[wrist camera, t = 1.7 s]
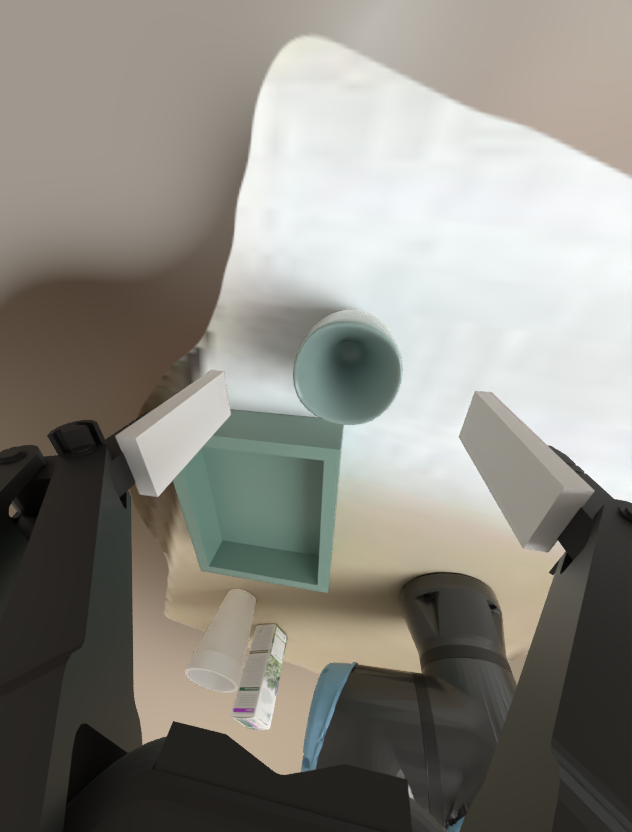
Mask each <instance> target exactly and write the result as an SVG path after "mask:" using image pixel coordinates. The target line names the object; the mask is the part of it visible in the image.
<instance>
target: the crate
mask: <svg viewBox="0 0 632 832" xmlns="http://www.w3.org/2000/svg"><path fill="white" fill-rule="evenodd" d="M230 412H231V415H230V416H229V417H228V419H227V420H226V421H225V422H224V423H223V424H222V425H221V426H220V428H219V429H218V430H217V431H216V432H215V433H214V434H213V435H212V437H211V438H210V439H209V440H208V441H207V442H206V443H205V445H204V446H203V447H202V448H201V449H200V450H199V451H198V452H197V454H196V455H195V456H194V457H193V458H192V459H191V460H190V461H189V463H188V464H187V465H186V466H185V467H184V468H183V469H182V470H181V472H180V473H179V474H178V475H177V476H176V477H175V478H174V479H173V483H174V486H175V489H176V492H177V495H178V499H179V502H180V505H181V508H182V511H183V515H184V518H185V521H186V524H187V527H188V531H189V534H190V537H191V540H192V543H193V546H194V550H195V553H196V556H197V559H198V562H199V566H200V569H201V571H205V572H211V573H217V574H222V575H228V576H234V577H239V578H245V579H251V580H256V581H262V582H268V583H273V584H279V585H285V586H290V587H296V588H302V589H307V590H313V591H319V592H324V593H328V588H329V579H330V569H331V560H332V549H333V538H334V527H335V516H336V504H337V493H338V482H339V471H340V460H341V448H342V437H343V426H344V425H342V424H337V423H332V422H329V421H326V420H323V419H322V418H313V417H303V416H292V415H282V414H272V413H261V412H251V411H241V410H230Z"/></svg>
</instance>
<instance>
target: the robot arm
mask: <svg viewBox="0 0 632 832" xmlns="http://www.w3.org/2000/svg"><path fill="white" fill-rule="evenodd" d="M230 415H231V412H230V405H229V399H228V393H227V386H226V380H225V373H224V371H213V370H211V371H209V372H208V373H207V374H205V375H204V376H202V377H201V378H199V379H198V380H196V381H195V382H193V383H192V384H190V385H189V386H188V387H186V388H185V389H183V390H182V391H180V392H179V393H177V394H176V395H174V396H173V397H171V398H170V399H168V400H167V401H166V402H164V403H163V404H161V405H160V406H158V407H157V408H155V409H153V410H151V411H149V412H146V413H144V414H143V415H141V416H140V417H138V418H137V419H136V420H134V421H132V422H131V423H129V425H126V426H125V427H123V428H122V429H121V430H119V431H117V432H116V433H115V434H113V435H111V436H110V437H109V438H107V439H106V440H105V439H104V437H103V434H102V432H101V430H100V428H99V426H98V423H97V422H96V421H93V420H81V421H75V422H72V423H68V424H65V425H62V426H60V427H57V428H56V429H54V430H52V431H51V432H50V433H49V434H48V438H49V439H50V441H51V443H52V445H53V446H54V448H55V450H56V452H57V453H58V455H57V456H45V457H44V456H43V455H42V453H41V451H40V450H39V448H38V447H37V446H34V445H24V446H19V447H12V448H10V449H6V450H3V451H2V452H0V832H632V503H630V502H627V501H622V500H616V499H613V498H612V497H611V496H610V495H609V494H608V493H607V492H606V491H605V490H604V489H602V488H601V487H600V486H599V485H598V484H597V483H596V482H595V481H594V480H593V479H592V478H590V477H589V476H588V475H587V474H584V471H583V470H582V469H581V468H579V467H578V466H576V465H575V463H574V462H573V461H572V460H571V459H570V458H569V457H567V456H566V455H565V454H564V453H562V452H560V451H559V450H557V449H555V448H553V447H552V446H547V445H546V444H545V443H544V442H543V441H542V440H541V439H540V438H539V437H538V436H537V435H536V434H535V433H534V432H533V431H532V430H531V429H530V428H528V427H527V426H526V425H525V424H524V423H523V422H522V421H521V420H520V419H519V418H518V417H517V416H516V415H515V414H514V413H513V412H512V411H511V410H510V409H509V408H508V407H506V406H505V405H504V404H503V403H502V402H501V401H500V400H499V399H498V398H497V397H496V396H495V395H494V394H493V393H492V392H482V391H475V393H474V395H473V398H472V401H471V404H470V407H469V410H468V412H467V415H466V418H465V421H464V424H463V427H462V429H461V432H460V435H459V438H460V440H461V442H462V444H463V445H464V447H465V449H466V450H467V452H468V454H469V456H470V457H471V459H472V461H473V463H474V464H475V466H476V468H477V470H478V471H479V473H480V475H481V476H482V478H483V480H484V482H485V483H486V485H487V487H488V489H489V490H490V492H491V494H492V496H493V497H494V499H495V501H496V502H497V504H498V506H499V508H500V509H501V511H502V513H503V515H504V516H505V518H506V520H507V522H508V523H509V525H510V527H511V528H512V530H513V532H514V534H515V535H516V537H517V539H518V541H519V542H520V544H521V546H522V548H523V549H529V550H536V551H543V552H549V551H550V550H551V548H552V547H553V546H554V544H555V543H556V542H557V540H558V541H559V542H560V543H561V545H562V546H563V548H564V549H565V550H566V552H565V553H564V554H563V556H562V557H561V558H560V559H559V560H558V562H557V563H556V564H555V565H554V567H553V568H552V569H551V570H550V572H549V573H550V574H552V575H554V574H555V575H554V578H553V581H552V584H551V587H550V590H549V593H548V596H547V599H546V602H545V605H544V608H543V611H542V614H541V617H540V619H539V622H538V625H537V628H536V631H535V634H534V637H533V640H532V643H531V646H530V649H529V652H528V655H527V658H526V661H525V664H524V667H523V670H522V673H521V676H520V679H519V682H518V685H517V684H516V682H515V679H514V677H513V674H512V671H511V668H510V666H509V663H508V660H507V657H506V652H505V641H504V630H503V619H502V612H501V608H500V605H499V603H498V600H497V598H496V596H495V593H494V592H493V590H492V589H491V588H490V587H489V586H488V585H486V584H485V583H483V582H481V581H479V580H477V579H475V578H472V577H469V576H465V575H460V574H452V573H438V574H430V575H425V576H422V577H419V578H416V579H414V580H412V581H411V582H409V583H408V584H406V585H405V586H404V588H403V589H402V591H401V594H400V600H401V608H402V613H403V616H404V619H405V621H406V624H407V626H408V629H409V631H410V633H411V636H412V638H413V641H414V643H415V646H416V648H417V650H418V653H419V657H420V664H421V670H422V674H421V673H414V672H407V671H400V670H393V669H386V668H379V667H372V666H365V665H358V663H356V662H353V663H352V664H348V663H330V664H328V665H327V666H326V667H325V668H324V669H323V671H322V672H321V674H320V677H319V679H318V682H317V685H316V688H315V691H314V695H313V699H312V703H311V707H310V712H309V717H308V722H307V728H306V734H305V740H304V748H303V753H304V755H303V761H302V768H301V772H300V773H294V774H289V775H280V774H277V773H275V772H274V771H272V770H271V769H270V768H269V767H267V766H266V765H264V763H262V762H261V761H259V760H258V759H257V758H256V757H254V756H253V755H252V754H251V753H249V752H248V751H247V750H245V749H244V748H243V747H242V746H240V745H239V744H238V743H236V742H235V741H234V740H232V739H231V738H230V737H229V736H228V735H226V734H222V733H219V732H215V731H210V730H207V729H203V728H198V727H194V726H190V725H186V724H182V723H178V722H174V721H173V723H172V725H171V728H170V730H169V733H168V735H167V737H162V738H160V739H157V740H154V741H151V742H148V743H146V744H144V745H142V733H141V726H140V720H139V716H138V712H137V709H136V705H135V700H134V691H133V625H132V549H131V496H130V494H129V492H128V489H129V488H130V487H132V486H133V485H134V484H136V486H137V489H138V491H139V493H140V495H147V496H154V497H158V496H159V495H160V494H161V493H162V492H163V491H164V490H165V488H166V487H167V486H168V485H169V484H170V483H171V482H172V481H173V479H174V478H175V477H176V476H177V475H178V474H179V473H180V472H181V470H182V469H183V468H184V467H185V466H186V465H187V464H188V463H189V461H190V460H191V459H192V458H193V457H194V456H195V455H196V454H197V452H198V451H199V450H200V449H201V448H202V447H203V446H204V445H205V443H206V442H207V441H208V440H209V439H210V438H211V437H212V435H213V434H214V433H215V432H216V431H217V430H218V429H219V428H220V426H221V425H222V424H223V423H224V422H225V421H226V420H227V419H228V417H229V416H230ZM10 504H12V505H13V506H14V508H15V509H16V510H17V512H16V513H15V515H14V516H13V517H12V518H11V517H10V516H9V506H10ZM444 829H445V830H444Z"/></svg>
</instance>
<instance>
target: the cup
mask: <svg viewBox="0 0 632 832" xmlns="http://www.w3.org/2000/svg"><path fill="white" fill-rule="evenodd" d="M402 372H403V366H402V357H401V354H400V351H399V348H398V345H397V343H396V341H395V339H394V337H393V335H392V334H391V332H390V331H389V330H388V328H387V327H386V325H384V324H383V323H382V322H381V321H380V320H379V319H378V318H376V317H374V316H372V315H371V314H368V313H365V312H363V311H358V310H341V311H337V312H334V313H332V314H330V315H328V316H326V317H324V318H323V319H322V320H321V321H320V322H318V323H317V324H316V325H315V326H314V327H313V328H312V330H311V331H310V332H309V333H308V335H307V336H306V337H305V339H304V340H303V342H302V343H301V345H300V348H299V350H298V352H297V355H296V358H295V362H294V370H293V379H294V387H295V390H296V393H297V396H298V397H299V399H300V401H301V403H302V404H303V405H304V406H305V407H306V408H307V409H308V410H309V411H310V412H312V413H313V414H314V415H316V416H318V417H320V418H322V419H323V420H326V421H329V422H332V423H337V424H342V425H356V424H363V423H366V422H369V421H372V420H374V419H375V418H377V417H379V416H380V415H381V414H382V413H384V412H385V411H386V410H387V409H388V407H389V406H390V405H391V404H392V402H393V401H394V399H395V397H396V395H397V393H398V391H399V387H400V384H401V381H402Z"/></svg>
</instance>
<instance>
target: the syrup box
mask: <svg viewBox="0 0 632 832" xmlns="http://www.w3.org/2000/svg"><path fill="white" fill-rule="evenodd" d="M287 638H288V636H287V635H286V634H285V633H284V632H283V631H282V630H281V629H280V628H279V627H278V626H277V625H276V624H264V625H257V626H256V629H255V632H254V636H253V639H252V643H251V646H250V650H249V654H248V657H247V661H246V665H245V667H244V671H243V674H242V678H241V681H240V685H239V688H238V691H237V695H236V698H235V702H234V705H233V709H232V712H231V717H232V718H233V719H235V720H236V721H238V722H239V723H241V724H242V725H243V726H245V727H247V728H249V729H254V730H265V729H270V726H271V721H272V715H273V710H274V705H275V700H276V695H277V689H278V684H279V679H280V674H281V669H282V664H283V659H284V654H285V648H286V643H287Z"/></svg>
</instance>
